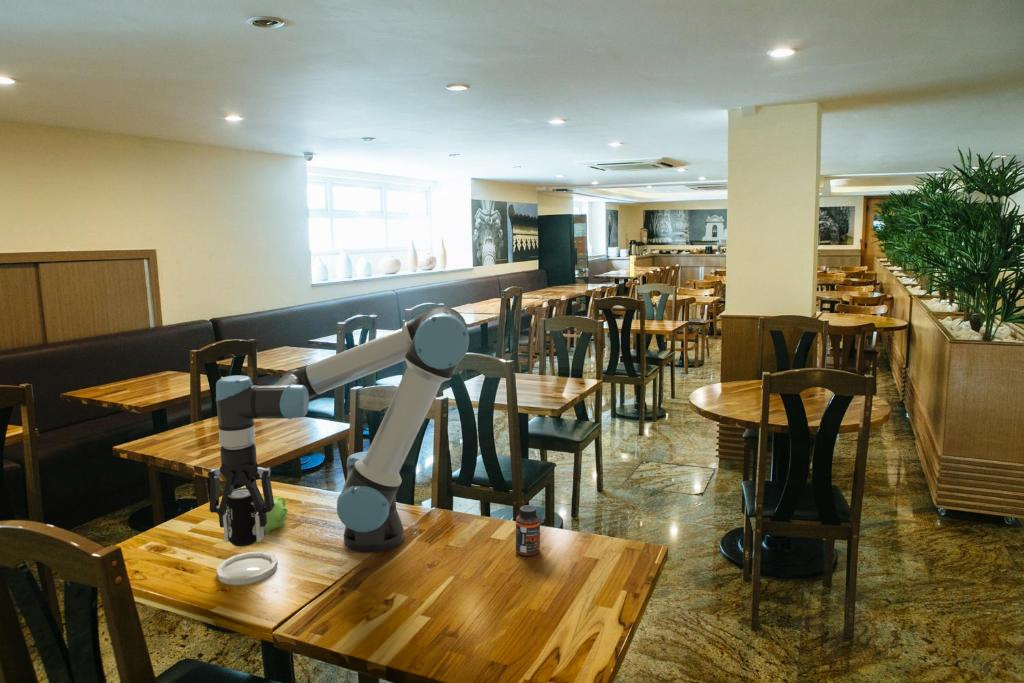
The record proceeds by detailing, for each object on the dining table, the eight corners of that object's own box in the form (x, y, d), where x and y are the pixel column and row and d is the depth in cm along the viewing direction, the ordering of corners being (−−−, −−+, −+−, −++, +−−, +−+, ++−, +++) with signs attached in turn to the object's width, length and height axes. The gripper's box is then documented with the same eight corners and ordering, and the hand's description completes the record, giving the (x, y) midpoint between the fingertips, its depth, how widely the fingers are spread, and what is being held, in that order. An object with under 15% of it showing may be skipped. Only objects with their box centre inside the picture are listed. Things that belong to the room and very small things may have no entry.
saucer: (283, 557, 169) (283, 551, 168) (266, 584, 156) (266, 578, 156) (230, 558, 168) (229, 552, 168) (208, 586, 156) (207, 579, 155)
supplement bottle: (527, 559, 167) (526, 515, 165) (510, 551, 171) (510, 507, 169) (545, 551, 171) (545, 508, 169) (528, 543, 175) (528, 501, 173)
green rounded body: (292, 516, 192) (290, 487, 190) (288, 534, 181) (286, 504, 179) (250, 520, 190) (247, 491, 188) (243, 539, 179) (240, 508, 177)
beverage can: (249, 549, 157) (245, 499, 155) (223, 546, 158) (219, 496, 156) (265, 536, 163) (262, 488, 161) (240, 533, 165) (236, 485, 163)
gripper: (286, 438, 161) (291, 531, 165) (200, 439, 160) (208, 532, 164) (276, 449, 153) (282, 546, 157) (186, 450, 153) (195, 547, 157)
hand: (244, 539), depth 161 cm, fingers closed on beverage can, 7 cm apart
